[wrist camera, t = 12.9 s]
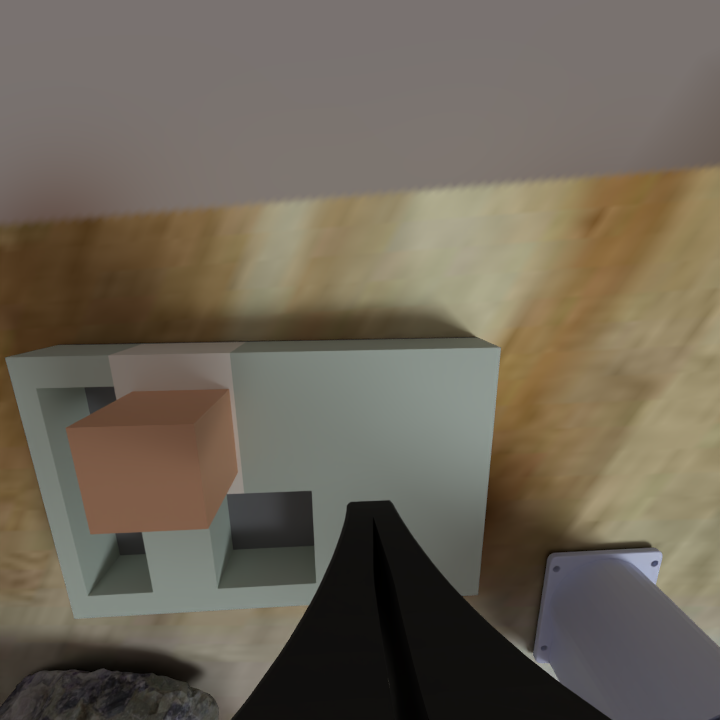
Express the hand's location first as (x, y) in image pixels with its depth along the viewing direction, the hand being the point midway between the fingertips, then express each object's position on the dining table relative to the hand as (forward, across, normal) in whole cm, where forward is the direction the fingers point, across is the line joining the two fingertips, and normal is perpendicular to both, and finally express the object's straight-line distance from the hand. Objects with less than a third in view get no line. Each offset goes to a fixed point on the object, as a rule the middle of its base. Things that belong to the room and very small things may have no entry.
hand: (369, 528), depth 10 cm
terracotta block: (+7, +8, 0) cm, 11 cm away
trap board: (+10, +4, +3) cm, 11 cm away
